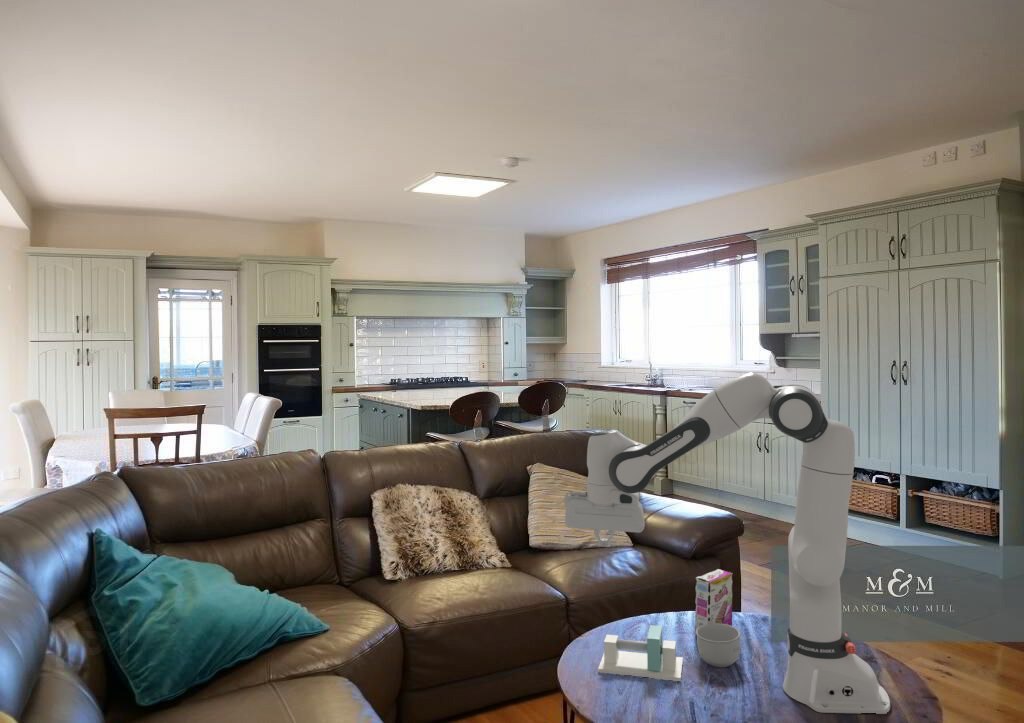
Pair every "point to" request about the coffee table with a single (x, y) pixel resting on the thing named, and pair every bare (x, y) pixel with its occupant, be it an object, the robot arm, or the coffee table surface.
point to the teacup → (718, 644)
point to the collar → (654, 648)
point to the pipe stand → (639, 659)
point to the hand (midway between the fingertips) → (604, 546)
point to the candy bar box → (713, 598)
